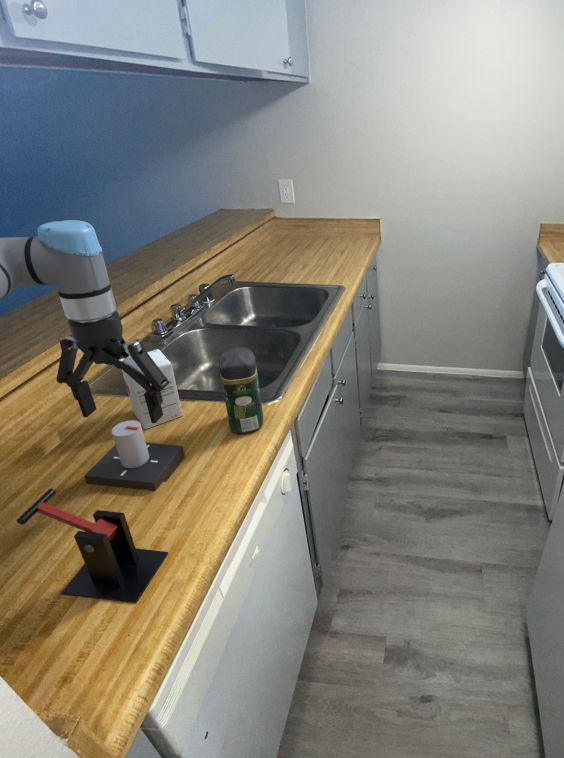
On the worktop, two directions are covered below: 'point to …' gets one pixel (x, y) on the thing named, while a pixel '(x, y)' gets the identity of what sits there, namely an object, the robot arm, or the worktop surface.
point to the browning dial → (130, 444)
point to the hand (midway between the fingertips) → (123, 416)
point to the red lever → (66, 517)
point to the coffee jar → (241, 390)
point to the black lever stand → (113, 563)
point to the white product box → (169, 393)
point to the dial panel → (137, 468)
